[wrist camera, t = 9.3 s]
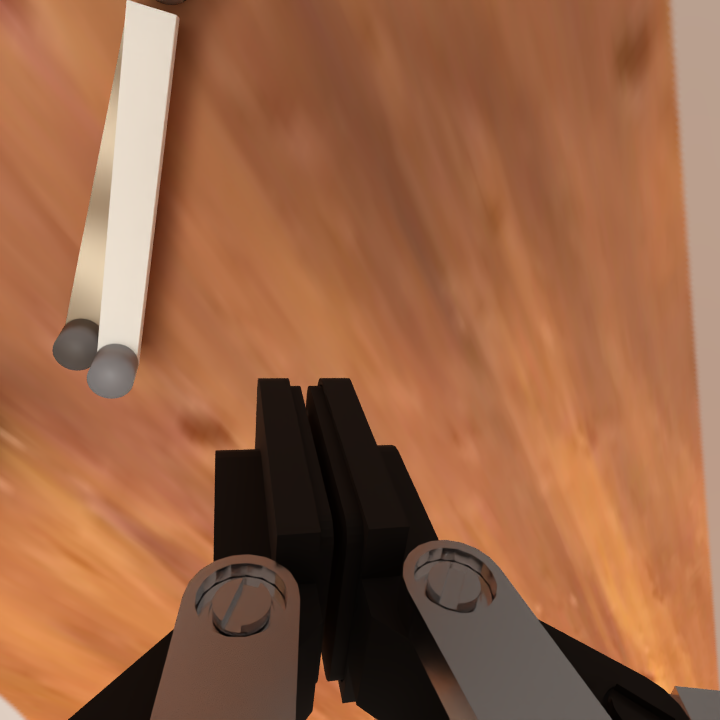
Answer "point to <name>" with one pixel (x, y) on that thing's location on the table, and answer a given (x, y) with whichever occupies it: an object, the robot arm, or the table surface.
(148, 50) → the tongs moving jaw
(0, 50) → the table surface
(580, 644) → the robot arm
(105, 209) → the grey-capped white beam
